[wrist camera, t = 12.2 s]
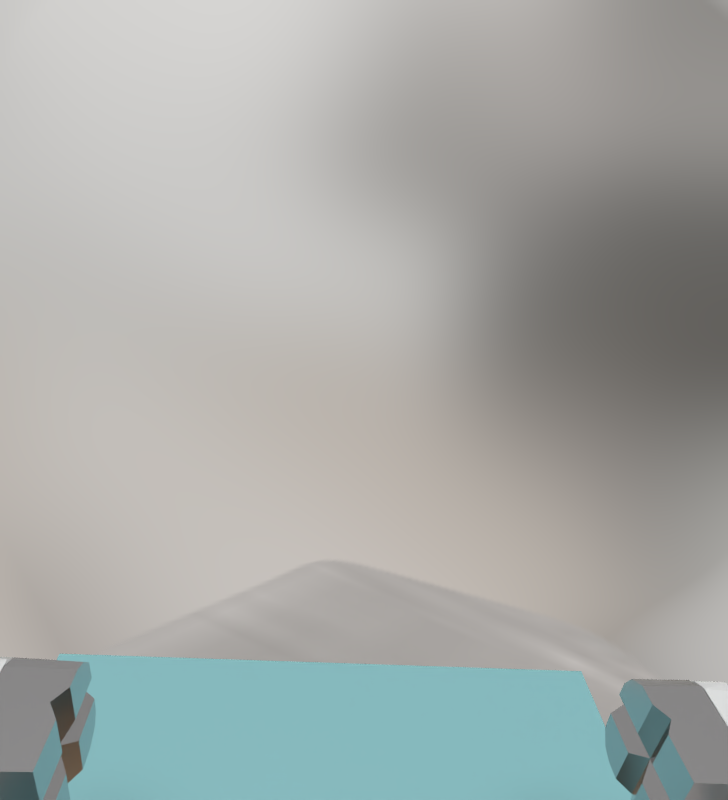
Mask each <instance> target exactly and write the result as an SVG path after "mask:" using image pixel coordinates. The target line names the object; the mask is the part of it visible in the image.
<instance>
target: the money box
mask: <svg viewBox="0 0 728 800" xmlns="http://www.w3.org/2000/svg"><path fill="white" fill-rule="evenodd" d="M57 660H61V661H78V662H89V665H90V670H91V676H92V679H91V681H90V684H89V686H88V689H87V691H86V692H87V693H89V694H90V695H91V696H92V697H93V698H94V699H95V707H96V717H95V728H94V733H93V738H92V742H91V747H90V750H89V753H88V756H87V759H86V762H85V765H84V768H83V770H82V771H81V772H80V773H79V774H77V775H76V776H75V777H74V778H73V779H72V780H71V781H70V782H69V783H68V788H69V794H70V800H631V796H632V794H631V793H630V792H629V791H628V790H627V789H626V788H625V787H624V786H623V785H622V784H621V783H620V782H619V781H618V780H617V779H616V778H615V776H614V773H613V771H612V768H611V766H610V763H609V760H608V756H607V751H606V747H605V725H604V723H603V721H602V718H601V716H600V714H599V711H598V709H597V707H596V704H595V702H594V700H593V698H592V695H591V693H590V691H589V688H588V686H587V684H586V681H585V679H584V677H583V675H582V672H581V671H555V670H525V669H496V668H466V667H437V666H407V665H377V664H348V663H318V662H288V661H259V660H229V659H199V658H170V657H140V656H111V655H81V654H79V655H78V654H59V656H58V658H57Z"/></svg>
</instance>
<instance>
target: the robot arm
mask: <svg viewBox="0 0 728 800" xmlns="http://www.w3.org/2000/svg"><path fill="white" fill-rule="evenodd" d="M91 679H92V676H91V670H90V665H89V662H78V661H61V660H44V659H27V658H11V657H0V800H70V794H69V788H68V783H69V782H70V781H71V780H72V779H73V778H74V777H75V776H76V775H77V774H79V773H80V772H81V771H82V770H83V768H84V765H85V762H86V759H87V756H88V753H89V750H90V747H91V742H92V738H93V733H94V728H95V717H96V707H95V699H94V698H93V697H92V696H91V695H90V694H89V693H87V692H86V691H87V689H88V686H89V684H90V681H91ZM619 695H620V697H621V699H622V701H623V703H624V705H622V706H621V707H619V708H618V709H616V710H615V711H614V712H612V713H611V714H610V717H609V719H608V722H607V725H606V727H605V747H606V751H607V756H608V760H609V763H610V766H611V768H612V771H613V773H614V776H615V778H616V779H617V780H618V781H619V782H620V783H621V784H622V785H623V786H624V787H625V788H626V789H627V790H628V791H629V792H630V793H631V794H632V796H631V800H728V684H726V683H725V682H706V681H689V680H653V679H631V680H630V681H628V682H626V683H625V684H624V686H623V688H622V690H621V692H620V694H619Z"/></svg>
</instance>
